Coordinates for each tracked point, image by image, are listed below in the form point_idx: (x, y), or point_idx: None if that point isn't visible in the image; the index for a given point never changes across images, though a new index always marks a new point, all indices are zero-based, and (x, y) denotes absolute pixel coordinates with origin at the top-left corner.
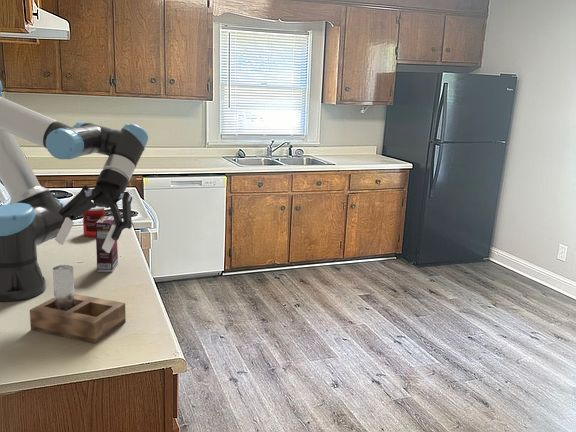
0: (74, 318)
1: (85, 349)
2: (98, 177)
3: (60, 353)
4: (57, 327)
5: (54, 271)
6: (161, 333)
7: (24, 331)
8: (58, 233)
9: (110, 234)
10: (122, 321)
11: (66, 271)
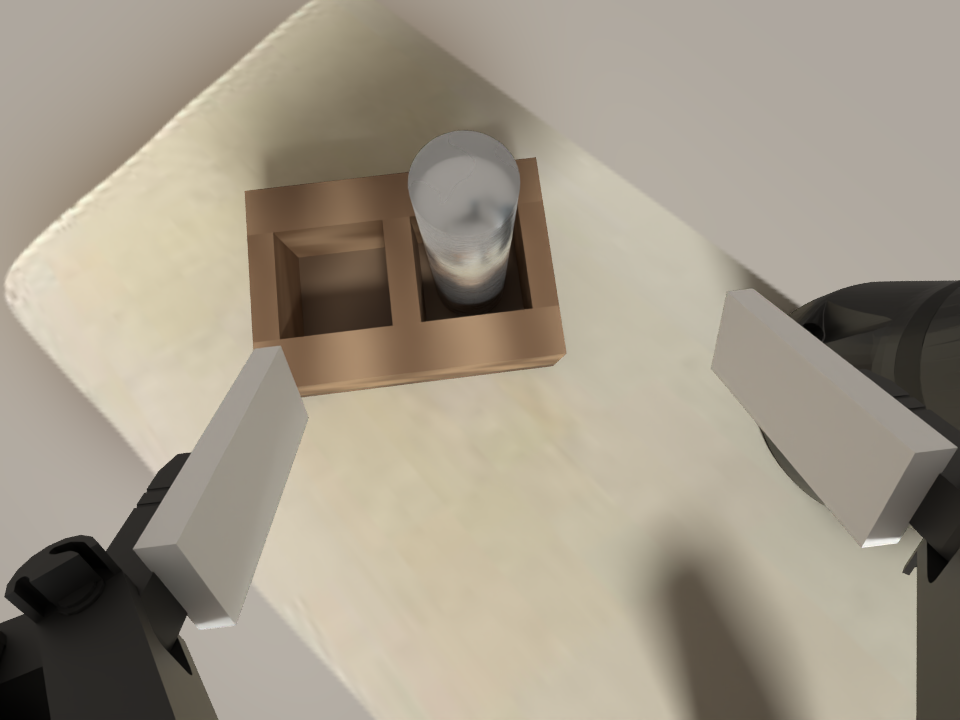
0: (336, 184)
1: None
2: None
3: (329, 136)
4: None
5: (476, 135)
6: (122, 389)
7: None
8: (784, 319)
9: (200, 441)
10: None
11: (413, 160)
